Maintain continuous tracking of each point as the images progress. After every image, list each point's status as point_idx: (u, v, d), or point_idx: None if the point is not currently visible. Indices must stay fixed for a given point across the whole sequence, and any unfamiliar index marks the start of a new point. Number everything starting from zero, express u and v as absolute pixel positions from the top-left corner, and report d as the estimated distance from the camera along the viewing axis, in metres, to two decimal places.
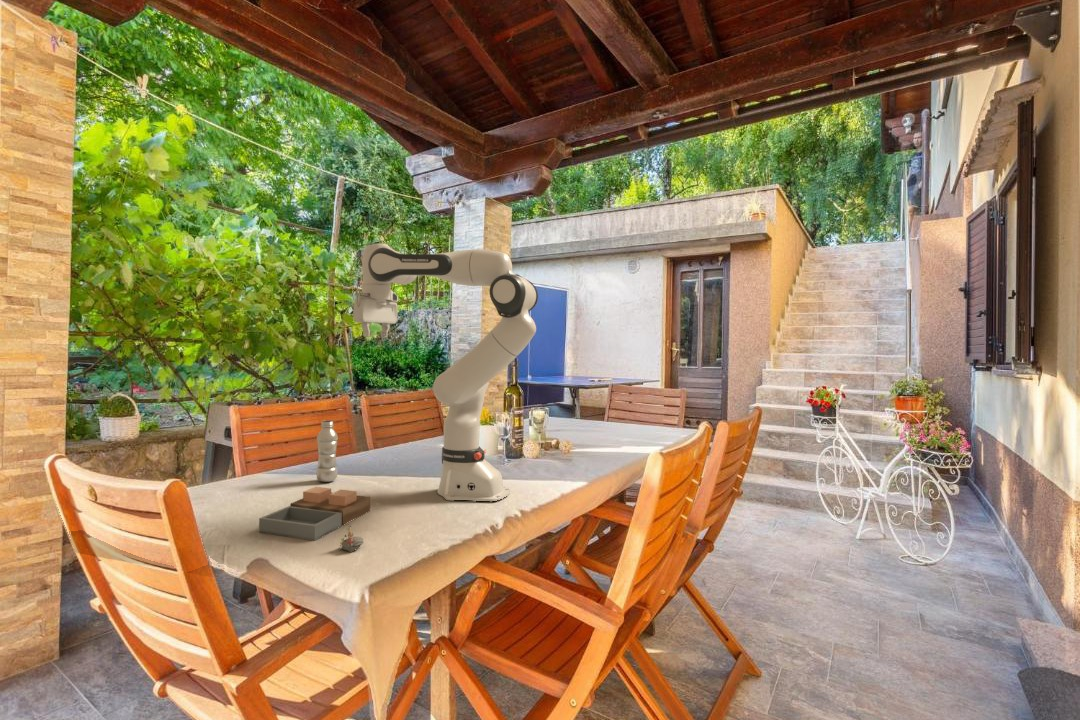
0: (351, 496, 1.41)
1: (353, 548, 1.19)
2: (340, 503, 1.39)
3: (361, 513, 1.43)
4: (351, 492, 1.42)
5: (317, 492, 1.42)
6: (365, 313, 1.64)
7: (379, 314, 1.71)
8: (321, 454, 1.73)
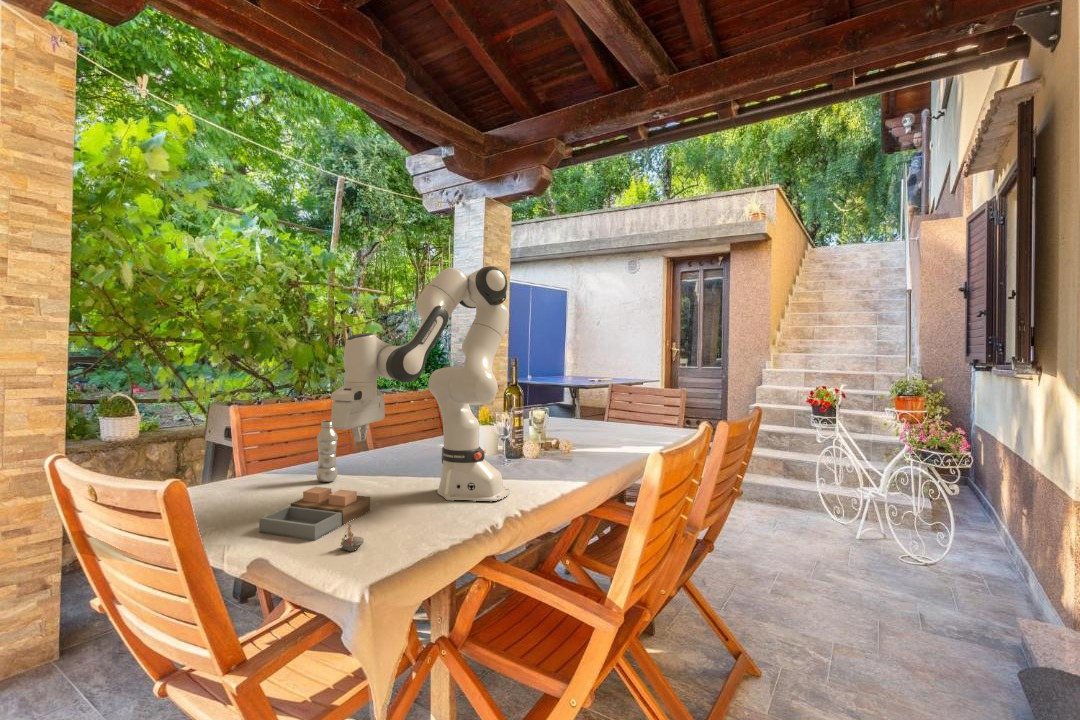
0: (351, 496, 1.41)
1: (353, 548, 1.19)
2: (340, 503, 1.39)
3: (361, 513, 1.43)
4: (351, 492, 1.42)
5: (317, 492, 1.42)
6: None
7: None
8: (321, 454, 1.73)
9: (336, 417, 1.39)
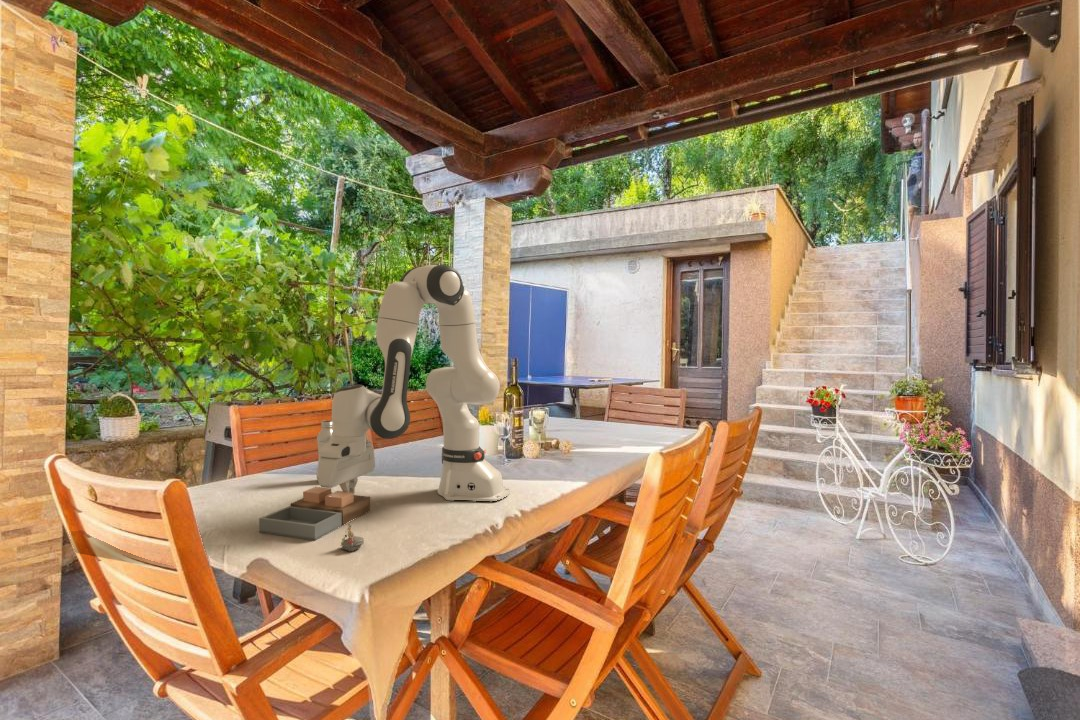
0: (348, 497, 1.40)
1: (353, 548, 1.19)
2: (337, 504, 1.38)
3: (361, 513, 1.43)
4: (348, 493, 1.41)
5: (317, 492, 1.42)
6: None
7: None
8: None
9: (323, 474, 1.35)
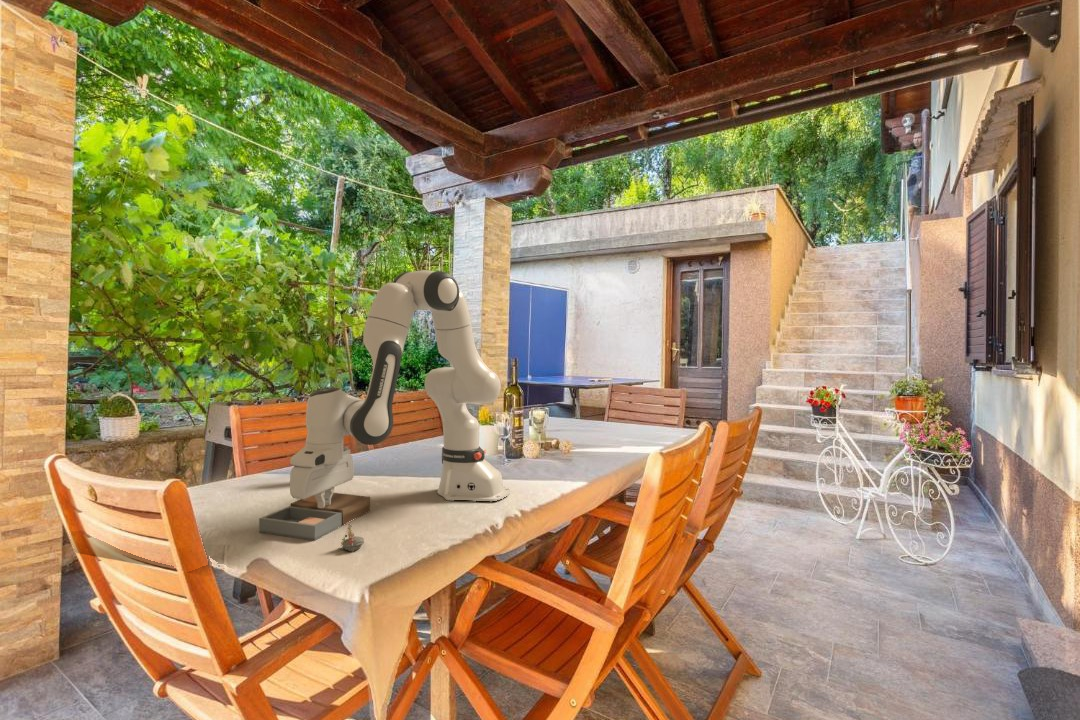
0: None
1: (354, 548, 1.19)
2: None
3: (361, 513, 1.43)
4: None
5: None
6: None
7: None
8: None
9: (295, 485, 1.25)
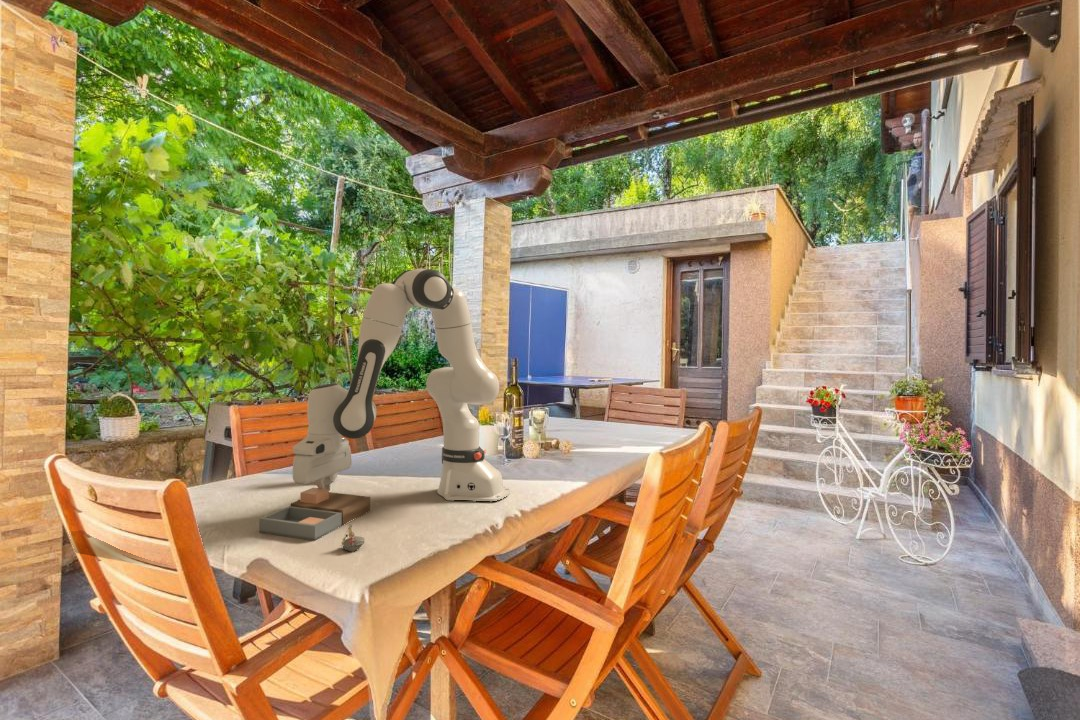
0: None
1: (354, 548, 1.19)
2: None
3: (361, 513, 1.43)
4: None
5: (314, 493, 1.41)
6: None
7: None
8: None
9: (297, 471, 1.37)
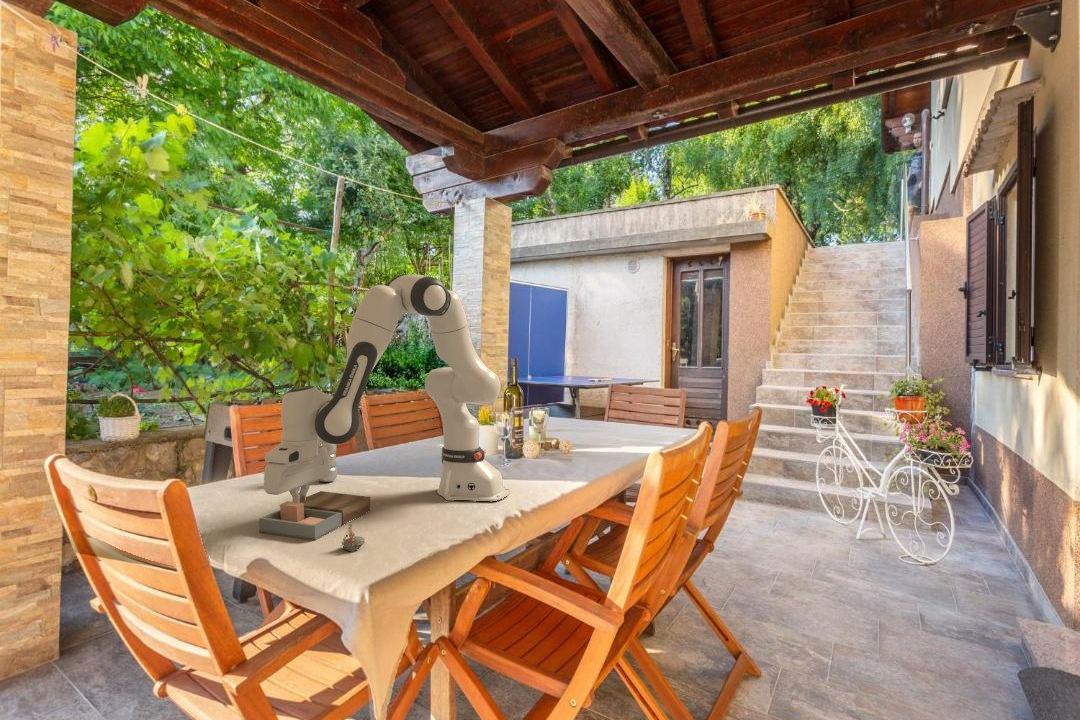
0: None
1: (354, 548, 1.19)
2: None
3: (361, 513, 1.43)
4: None
5: (293, 521, 1.34)
6: None
7: None
8: None
9: (269, 480, 1.28)
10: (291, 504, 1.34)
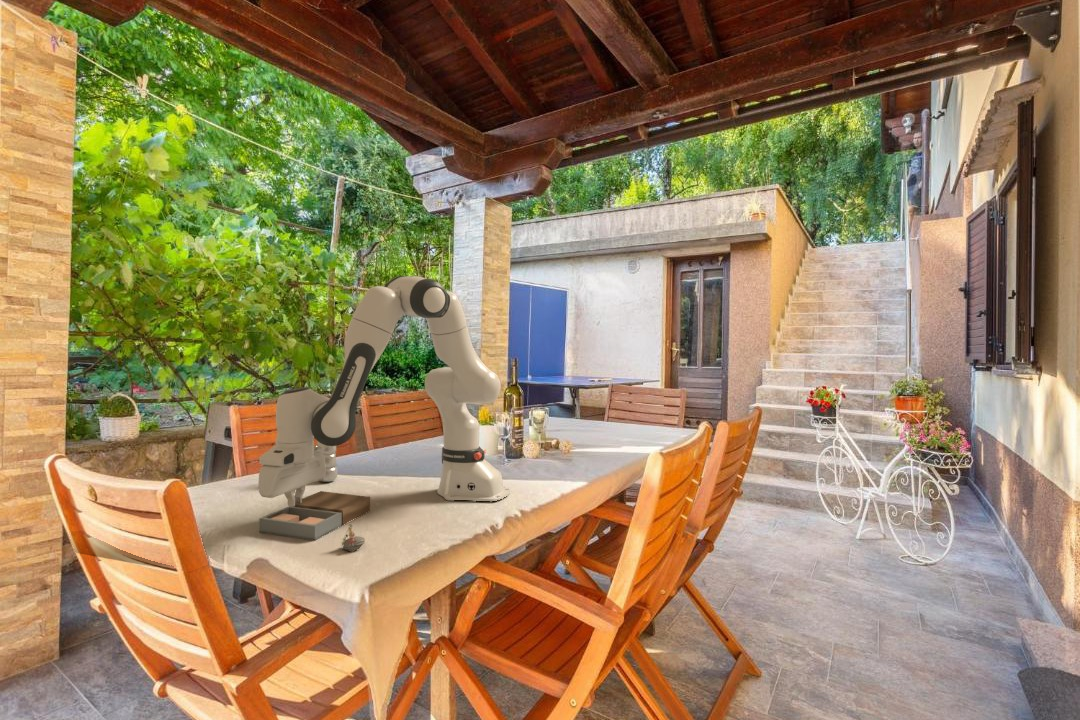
0: None
1: (354, 548, 1.19)
2: None
3: (361, 513, 1.43)
4: None
5: None
6: None
7: None
8: None
9: (263, 483, 1.26)
10: None
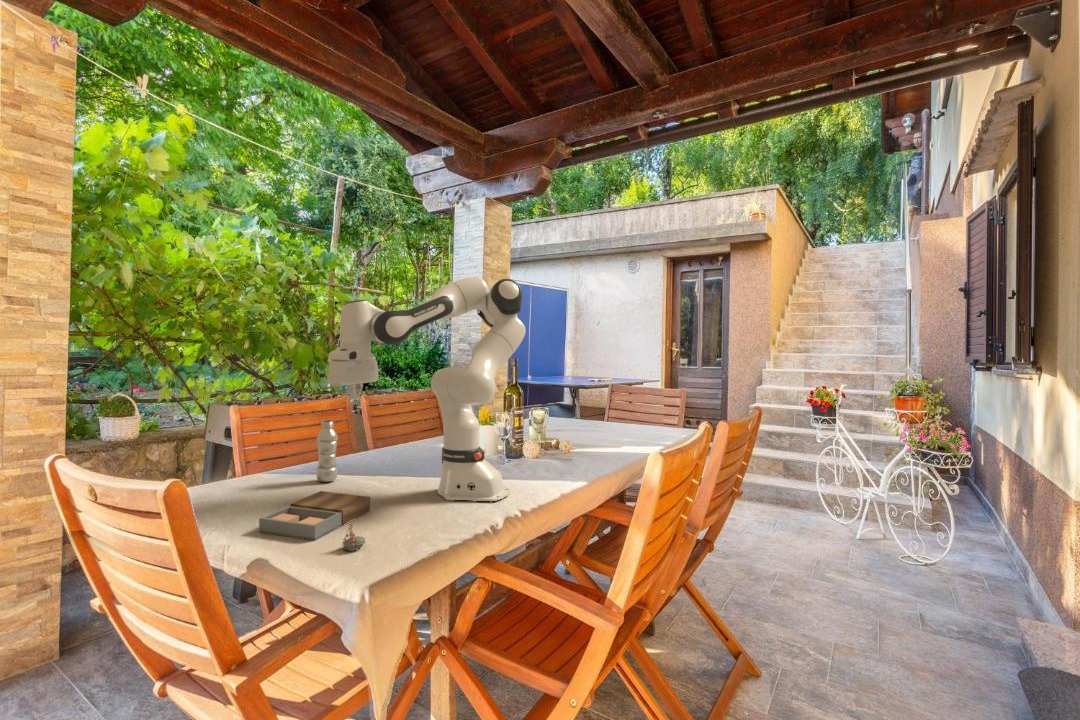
0: None
1: (355, 548, 1.19)
2: None
3: (361, 513, 1.43)
4: None
5: None
6: None
7: None
8: (321, 454, 1.73)
9: (333, 374, 1.52)
10: None
